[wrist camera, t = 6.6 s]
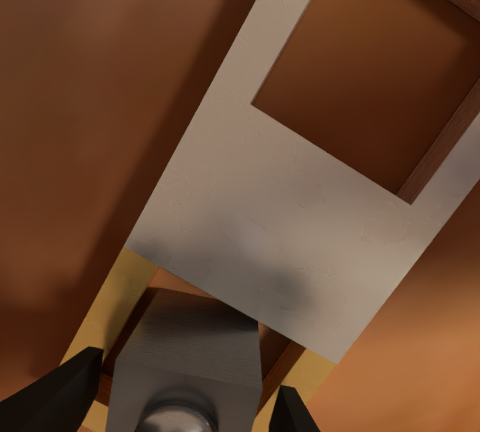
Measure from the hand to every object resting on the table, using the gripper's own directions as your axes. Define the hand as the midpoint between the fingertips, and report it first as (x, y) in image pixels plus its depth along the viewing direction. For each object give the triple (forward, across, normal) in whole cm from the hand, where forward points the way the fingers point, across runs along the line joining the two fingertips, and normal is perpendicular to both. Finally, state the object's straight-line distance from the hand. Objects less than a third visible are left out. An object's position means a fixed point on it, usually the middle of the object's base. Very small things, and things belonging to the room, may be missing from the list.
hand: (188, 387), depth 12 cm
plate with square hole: (+2, -2, -7) cm, 7 cm away
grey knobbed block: (+2, 0, 0) cm, 3 cm away
